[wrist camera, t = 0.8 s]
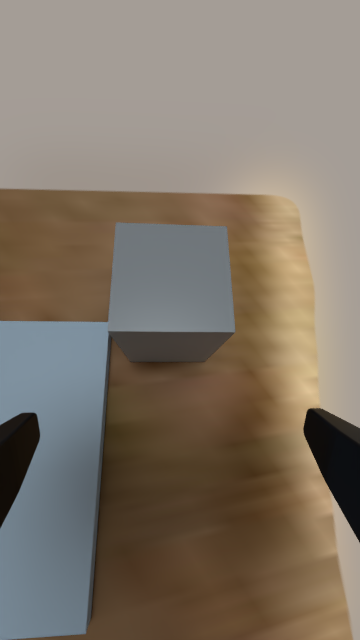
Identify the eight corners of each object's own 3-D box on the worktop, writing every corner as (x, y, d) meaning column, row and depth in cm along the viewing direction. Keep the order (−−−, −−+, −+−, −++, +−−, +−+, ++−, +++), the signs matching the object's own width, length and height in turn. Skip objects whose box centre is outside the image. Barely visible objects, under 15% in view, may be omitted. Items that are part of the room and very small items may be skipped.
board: (90, 618, 17) (85, 633, 16) (-140, 633, 16) (-164, 651, 15) (112, 326, 23) (109, 322, 22) (-54, 324, 22) (-66, 320, 21)
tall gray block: (204, 361, 23) (235, 332, 13) (130, 361, 22) (107, 331, 13) (201, 294, 25) (226, 226, 15) (133, 293, 24) (116, 222, 15)
